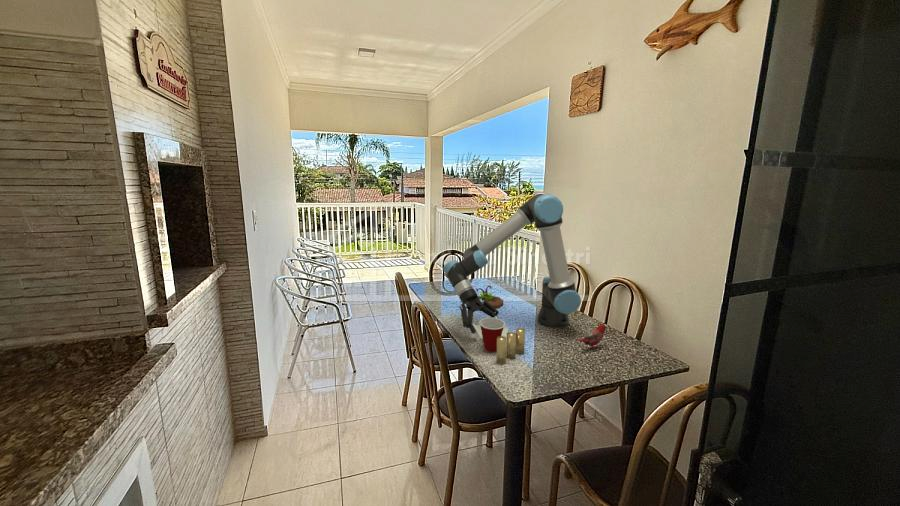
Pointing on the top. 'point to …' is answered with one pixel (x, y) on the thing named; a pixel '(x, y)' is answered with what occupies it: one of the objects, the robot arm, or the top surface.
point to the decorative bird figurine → (594, 336)
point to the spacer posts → (510, 345)
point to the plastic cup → (491, 332)
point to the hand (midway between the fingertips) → (491, 335)
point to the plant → (491, 298)
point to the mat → (504, 332)
